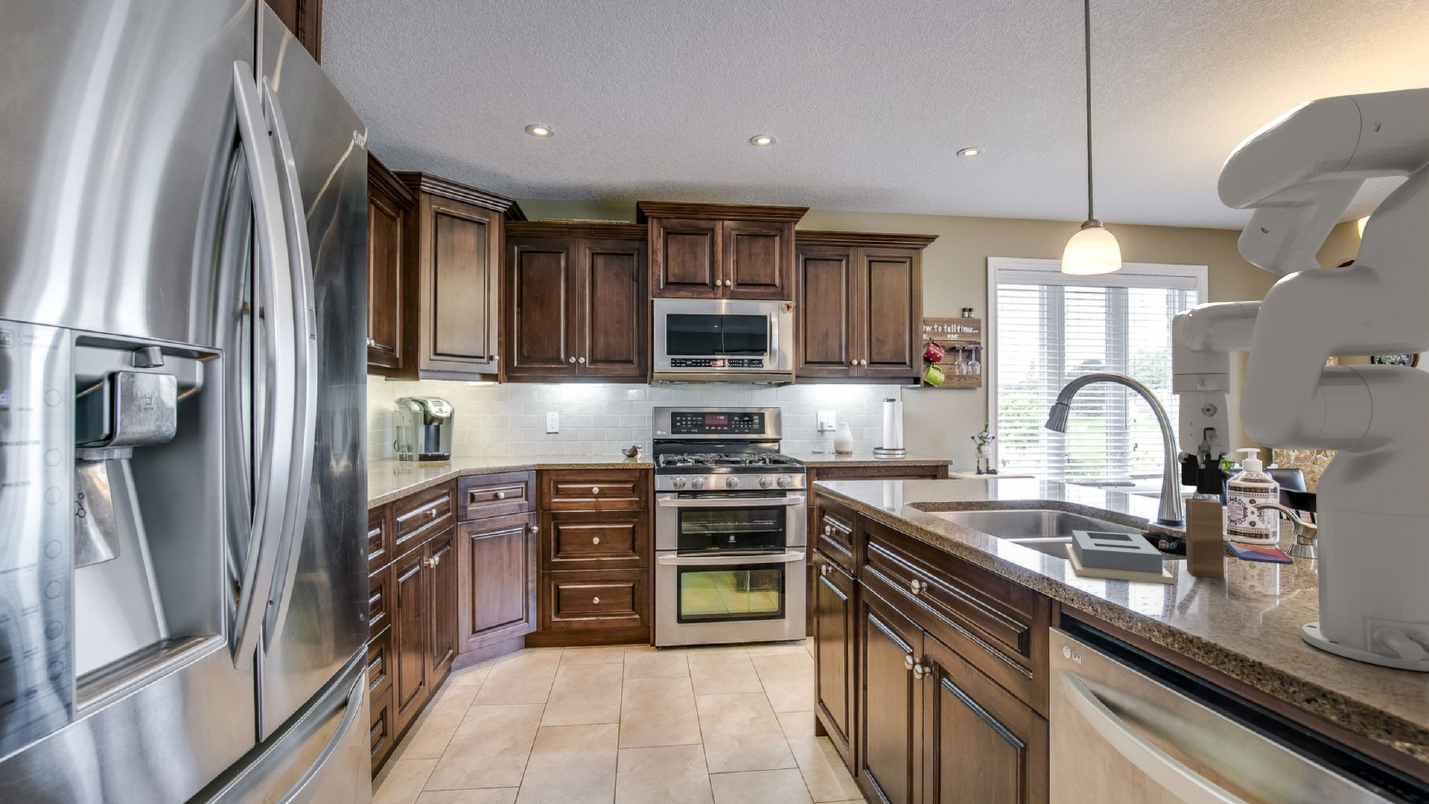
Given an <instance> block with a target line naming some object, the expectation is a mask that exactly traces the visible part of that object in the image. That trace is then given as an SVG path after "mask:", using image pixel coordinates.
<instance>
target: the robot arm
mask: <svg viewBox="0 0 1429 804" xmlns="http://www.w3.org/2000/svg"><path fill="white" fill-rule="evenodd" d="M1386 177H1407V178H1408V179H1407V180H1405V181H1404V182H1403V183H1402V184H1400V185H1399V186H1398V187H1396V188H1395V189H1394V190H1393V191H1392V192H1391V193H1389V194H1388V196H1386V198H1384V199H1383V200H1382V202H1381V203H1380V204H1379V205H1378V206H1377V207H1376V208H1375V209H1374V210H1373V212H1372V213H1371V215H1370V216H1369V217H1368V219H1367V220H1366V223H1365V225H1364V228H1363V231H1362V235H1361V239H1360V244H1359V248H1358V251H1357V253H1356V254H1357V255H1356V257H1355V259H1354V262H1352V264H1350V266H1348V267H1347V266H1346V267H1342V266H1341V267H1323V268H1322V266H1321V265H1320V264H1319V261H1318V260H1317V259H1316V255H1317V253H1318V252H1319V250H1320V248H1321V247H1322V246H1323V245H1324V243H1325V241H1326V240H1327V238H1328V237H1329V235H1330V234H1331V232H1332V231H1333V229H1335V228H1334V227H1336V225H1337V223H1338V222H1339V221H1340V219H1341V217H1342V215H1343V214H1344V213H1345V211H1346V210H1347V208H1348V207H1349V205H1350V204H1351V203H1352V201H1353V200H1354V198H1355V196H1356V195H1357V194H1358V192H1359V191H1360V189H1361V187H1362V186H1363V185H1364V183H1365V181H1366V179H1375V178H1376V179H1377V178H1386ZM1217 194H1218V198H1219V200H1220V202H1222V204H1223V205H1224V206H1226V207H1227V208H1229V209H1233V210H1252V209H1254V210H1253V212H1252V214H1251V216H1250V217H1249V220H1248V221H1247V223H1246V225H1245V226H1244V229H1243V230H1242V232H1241V234H1240V236H1239V238H1238V239H1237V244H1236V245H1237V250H1238V252H1239V254H1240V255H1241V257H1243V259H1244V260H1246V261H1247V262H1248V263H1250V264H1252V265H1254V266H1256V267H1258V268H1260V269H1262V270H1265V271H1267V272H1270V273H1273V274H1275V275H1280V276H1283V278H1281V279H1279V280H1278V281H1277V282H1275V284H1274V285H1272V287H1271V288H1270V289H1269V291H1268V292H1267V293H1266V295H1265V296H1264V298H1263V300H1251V301H1250V300H1249V301H1245V300H1244V301H1230V302H1210V303H1209V302H1208V303H1202V304H1199V305H1195V306H1194V307H1193V308H1191V309H1190V310H1186V311H1185V310H1184V311H1181V312H1178V313H1176V314H1175V315H1174V316H1173V318H1172V321H1171V358H1172V359H1171V368H1172V369H1171V374H1172V375H1171V377H1172V381H1171V382H1172V383H1171V384H1172V385H1171V386H1172V387H1171V388H1172V389H1171V391H1172V393H1171V394H1172V396H1173V395H1179V400H1178V401H1179V402H1178V403H1179V405H1178V444H1179V445H1178V446H1179V449H1180V450H1181V451H1182V454H1181V458H1180V459H1181V462H1180V464H1181V466H1180V468H1181V469H1180V470H1181V471H1180V472H1181V473H1180V474H1181V476H1180V477H1181V478H1180V480H1181V481H1180V482H1181V483H1180V484H1181V485H1182V486H1183V487H1185V486H1186V487H1196V492H1197V494H1200V495H1213V496H1214V495H1215V496H1217V495H1218V496H1221V495H1222V494H1223V493H1224V483H1223V482H1224V479H1223V477H1224V474H1223V473H1224V470H1223V468H1224V467H1223V466H1224V465H1223V460H1222V459H1223V457H1226V456H1228V455H1229V454H1230V453H1231V445H1230V442H1231V441H1230V426H1229V412H1228V406H1227V398H1226V395H1230V394H1231V379H1230V378H1231V374H1230V372H1231V364H1230V362H1231V360H1230V356H1231V354H1230V353H1233V352H1249V354H1248V357H1247V358H1248V359H1247V363H1246V368H1245V373H1244V378H1243V383H1242V387H1241V391H1240V392H1241V394H1240V400H1239V418H1240V423H1241V426H1242V429H1243V431H1244V434H1246V436H1247V437H1248V438H1249V439H1250V440H1251V441H1252V442H1254V443H1256V444H1257V445H1259V446H1262V447H1265V448H1269V449H1272V450H1274V449H1275V450H1287V451H1288V450H1289V451H1337V453H1335V456H1333V457H1332V459H1331V461H1330V462H1329V463H1328V464H1327V466H1326V467H1325V469H1324V470H1323V472H1322V473H1321V475H1320V477H1319V480H1318V482H1317V486H1316V500H1315V501H1316V540H1317V541H1316V543H1317V545H1316V546H1317V575H1318V577H1317V580H1318V581H1317V583H1318V616H1319V618H1318V619H1319V620H1318V621H1314V622H1308V623H1305V624H1303V625H1302V626H1301V627H1300V631H1301V632H1300V633H1301V638H1302V639H1303V640H1304V641H1305V642H1306V643H1308V644H1309V645H1312V646H1314V647H1316V648H1318V649H1320V650H1323V651H1326V652H1328V653H1331V654H1335V655H1339V656H1341V657H1344V658H1349V659H1350V660H1351V659H1352V660H1356V661H1359V662H1364V663H1369V664H1373V665H1379V666H1384V667H1389V668H1396V669H1402V670H1410V671H1417V672H1429V372H1428V371H1426V370H1423V369H1420V368H1417V367H1413V366H1407V365H1402V364H1401V365H1399V364H1389V363H1388V364H1386V363H1385V364H1384V363H1379V364H1378V363H1377V364H1376V363H1373V364H1372V363H1369V364H1365V363H1364V364H1362V363H1361V364H1334V365H1327V364H1326V363H1327V361H1328V360H1329V359H1330V358H1333V357H1334V358H1339V357H1342V358H1343V357H1345V358H1346V357H1373V356H1374V357H1376V356H1379V357H1381V356H1384V357H1385V356H1400V355H1401V356H1403V355H1413V354H1421V353H1426V352H1429V87H1419V88H1418V87H1417V88H1409V89H1408V88H1407V89H1399V90H1389V91H1383V92H1382V91H1381V92H1380V91H1378V92H1369V93H1367V92H1366V93H1358V94H1346V95H1338V96H1329V97H1323V98H1318V99H1313V100H1309V101H1307V102H1304V103H1301V104H1300V105H1298V106H1296V107H1294V108H1292V109H1290V110H1289V111H1287V112H1286V113H1284V114H1282V115H1281V116H1279V117H1277V118H1276V119H1275V120H1273V121H1271V122H1269V123H1268V124H1267V125H1264V126H1263V127H1262V128H1260V129H1258V130H1257V131H1256V132H1254V133H1253V134H1251V135H1250V136H1248V137H1247V138H1246V139H1244V140H1243V141H1242V142H1241V143H1239V145H1237V146H1236V148H1234V150H1233V151H1232V152H1231V153H1230V154H1229V156H1228V157H1227V159H1226V160H1225V162H1224V164H1223V166H1222V168H1221V170H1220V172H1219V176H1218V181H1217Z"/></svg>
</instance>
